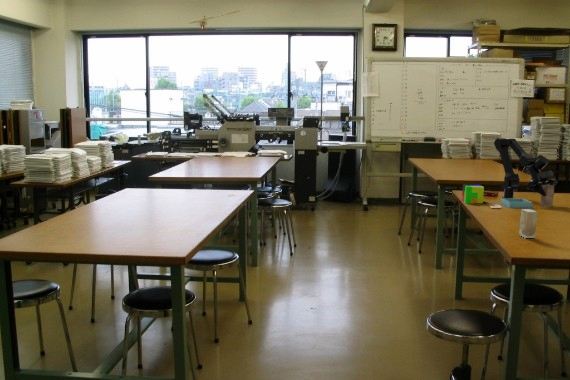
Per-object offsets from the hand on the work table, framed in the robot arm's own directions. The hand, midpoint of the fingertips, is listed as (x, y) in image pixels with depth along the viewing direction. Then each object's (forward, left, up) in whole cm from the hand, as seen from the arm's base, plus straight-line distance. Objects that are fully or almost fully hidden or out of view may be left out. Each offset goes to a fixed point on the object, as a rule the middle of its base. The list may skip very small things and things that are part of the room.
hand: (549, 195), depth 323 cm
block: (-1, -1, -7) cm, 7 cm away
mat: (0, -19, -7) cm, 20 cm away
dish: (0, -19, -6) cm, 20 cm away
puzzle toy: (-13, -40, -7) cm, 42 cm away
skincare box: (+79, -46, -7) cm, 91 cm away
